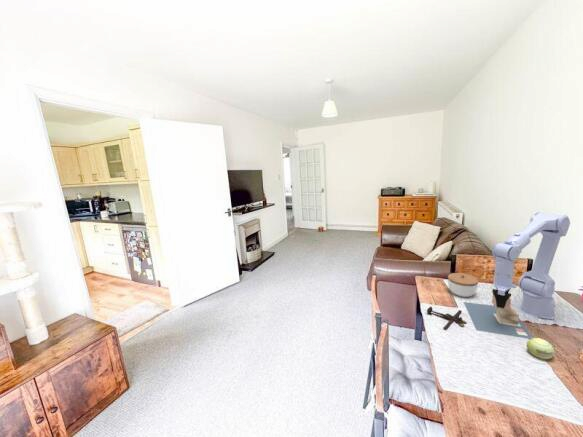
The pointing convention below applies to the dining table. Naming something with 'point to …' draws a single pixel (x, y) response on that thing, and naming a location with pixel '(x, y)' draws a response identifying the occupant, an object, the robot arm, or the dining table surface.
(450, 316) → the bear figurine
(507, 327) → the board
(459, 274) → the lidded bowl
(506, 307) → the terracotta block
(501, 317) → the maple block
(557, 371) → the dining table surface
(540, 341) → the tennis ball
